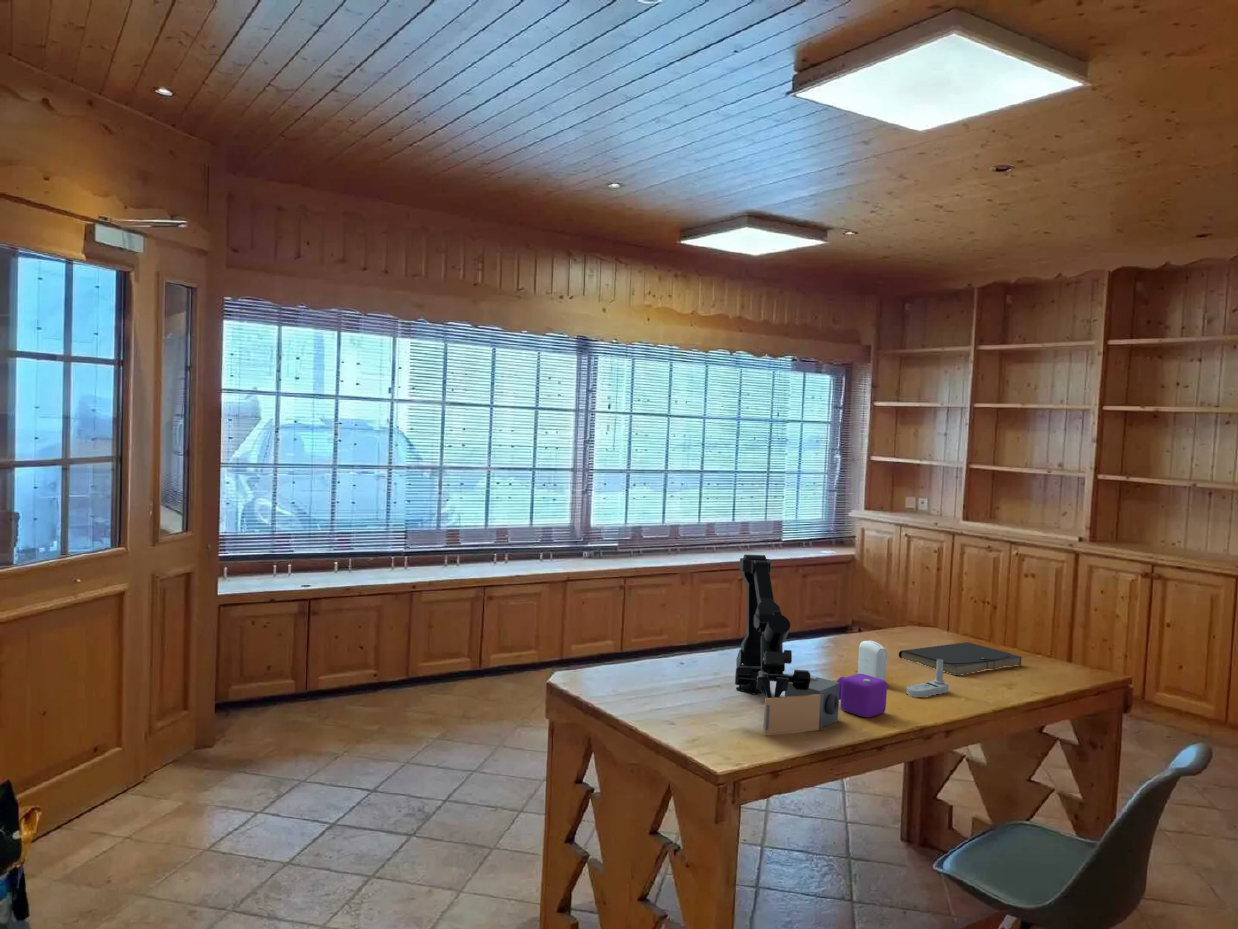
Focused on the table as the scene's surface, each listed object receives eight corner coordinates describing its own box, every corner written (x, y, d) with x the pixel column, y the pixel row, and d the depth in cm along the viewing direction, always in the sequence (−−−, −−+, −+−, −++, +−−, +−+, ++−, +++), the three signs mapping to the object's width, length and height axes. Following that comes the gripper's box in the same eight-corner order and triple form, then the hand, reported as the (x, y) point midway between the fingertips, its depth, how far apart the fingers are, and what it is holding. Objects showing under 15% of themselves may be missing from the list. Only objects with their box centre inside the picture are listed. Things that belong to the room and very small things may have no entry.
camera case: (783, 719, 228) (785, 679, 228) (804, 710, 236) (806, 672, 236) (821, 730, 221) (824, 689, 220) (842, 721, 229) (844, 681, 228)
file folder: (957, 665, 277) (898, 648, 298) (956, 678, 277) (898, 660, 298) (1023, 656, 294) (963, 640, 315) (1022, 668, 294) (962, 651, 315)
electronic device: (903, 662, 256) (938, 656, 263) (902, 695, 256) (937, 688, 264) (918, 667, 251) (953, 661, 258) (916, 701, 252) (951, 693, 259)
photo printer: (855, 677, 272) (857, 638, 271) (866, 676, 273) (869, 637, 273) (875, 687, 262) (878, 646, 261) (887, 686, 263) (889, 645, 263)
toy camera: (842, 700, 247) (844, 666, 246) (889, 712, 238) (891, 676, 238) (825, 709, 239) (827, 673, 238) (873, 721, 230) (875, 684, 229)
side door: (765, 735, 214) (767, 700, 214) (762, 733, 216) (764, 698, 215) (823, 730, 220) (825, 695, 220) (820, 728, 222) (821, 693, 221)
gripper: (737, 635, 222) (737, 690, 212) (811, 639, 220) (814, 696, 210) (735, 656, 230) (734, 711, 220) (806, 661, 228) (809, 717, 218)
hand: (772, 708), depth 217 cm, fingers closed
